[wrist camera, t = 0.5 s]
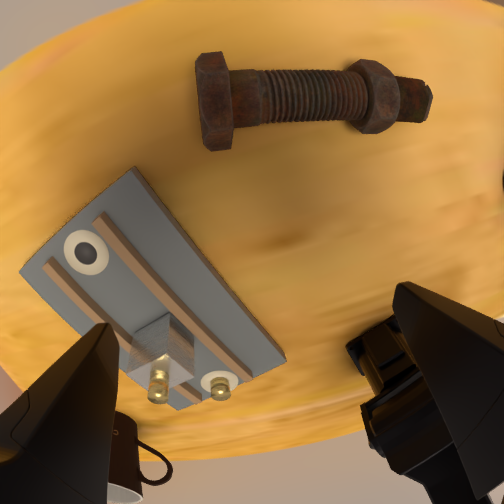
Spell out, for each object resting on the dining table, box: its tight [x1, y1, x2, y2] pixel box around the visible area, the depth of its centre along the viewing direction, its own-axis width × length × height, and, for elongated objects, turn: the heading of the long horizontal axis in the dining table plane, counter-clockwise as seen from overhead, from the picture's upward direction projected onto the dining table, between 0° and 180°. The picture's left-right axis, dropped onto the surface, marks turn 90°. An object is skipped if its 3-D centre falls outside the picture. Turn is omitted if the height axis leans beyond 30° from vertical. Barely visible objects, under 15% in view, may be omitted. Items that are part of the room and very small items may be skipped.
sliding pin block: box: [126, 312, 195, 404], centre depth 21 cm, size 3×4×6 cm
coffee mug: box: [107, 411, 173, 504], centre depth 28 cm, size 12×9×10 cm
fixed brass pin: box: [210, 377, 231, 401], centre depth 27 cm, size 2×2×2 cm
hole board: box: [19, 166, 287, 410], centre depth 24 cm, size 21×13×2 cm, turn 31°
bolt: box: [195, 51, 433, 151], centre depth 17 cm, size 6×5×15 cm
